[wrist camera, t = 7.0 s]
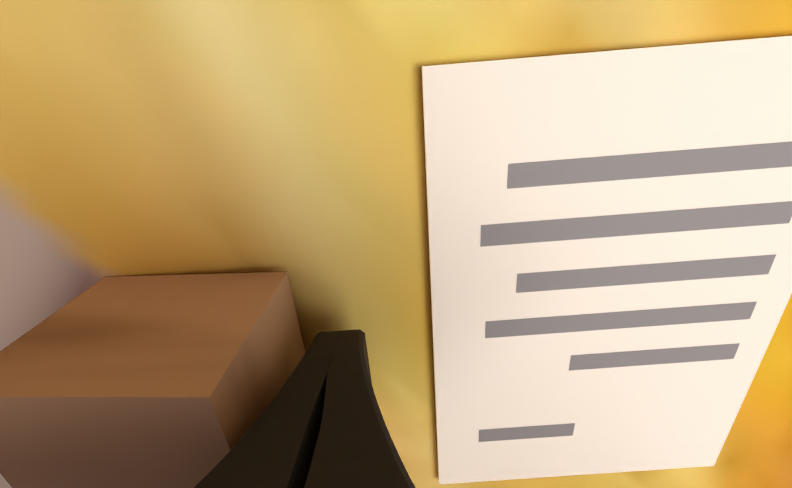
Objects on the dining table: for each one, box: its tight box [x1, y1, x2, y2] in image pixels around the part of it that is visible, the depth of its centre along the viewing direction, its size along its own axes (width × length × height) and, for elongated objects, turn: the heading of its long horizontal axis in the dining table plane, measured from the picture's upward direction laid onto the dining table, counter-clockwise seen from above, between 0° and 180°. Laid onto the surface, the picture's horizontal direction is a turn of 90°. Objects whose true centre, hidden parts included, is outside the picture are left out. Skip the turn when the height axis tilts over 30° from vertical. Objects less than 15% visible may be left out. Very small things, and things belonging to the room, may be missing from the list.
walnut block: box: [0, 272, 305, 488], centre depth 9 cm, size 5×5×4 cm
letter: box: [421, 35, 792, 484], centre depth 11 cm, size 14×10×1 cm
